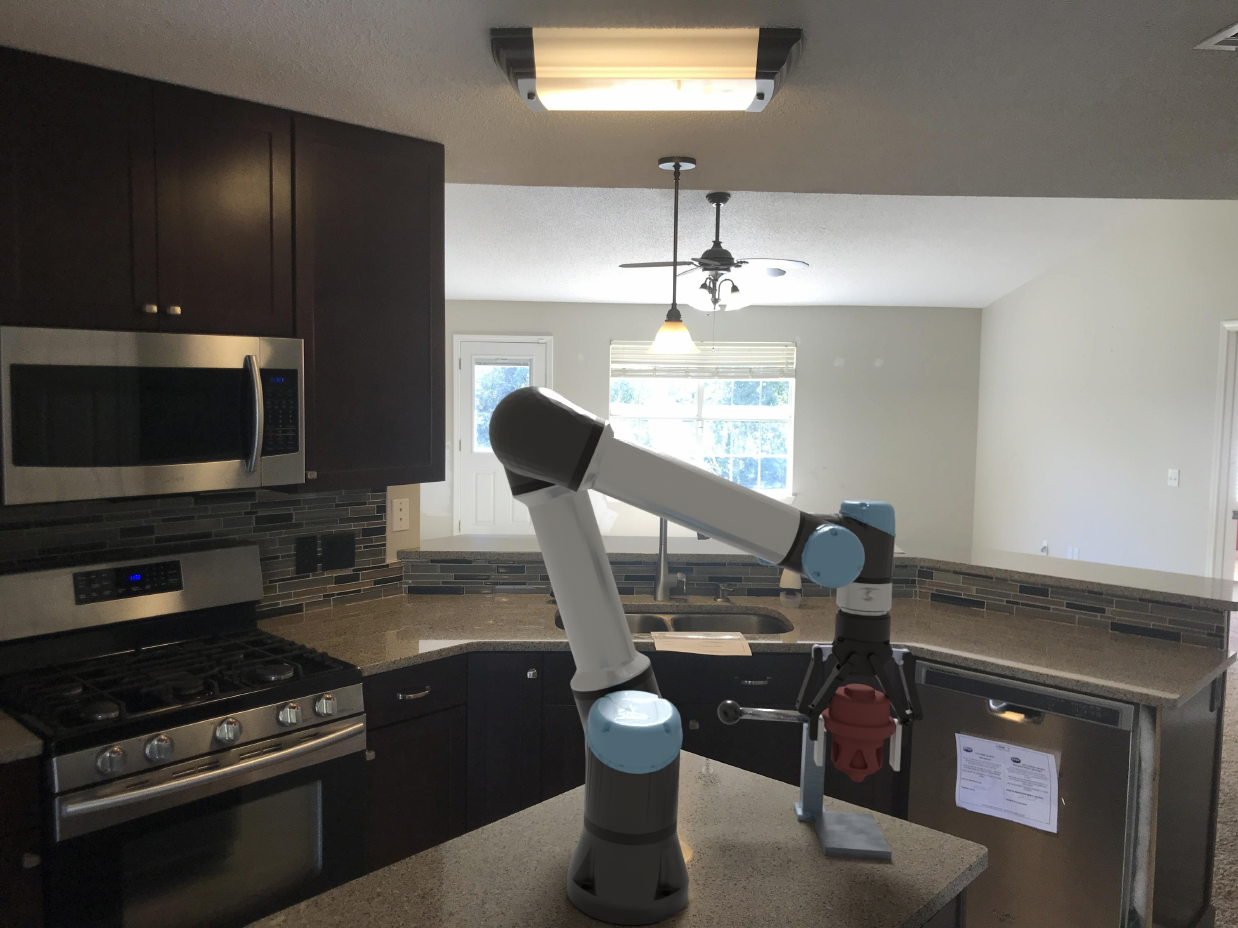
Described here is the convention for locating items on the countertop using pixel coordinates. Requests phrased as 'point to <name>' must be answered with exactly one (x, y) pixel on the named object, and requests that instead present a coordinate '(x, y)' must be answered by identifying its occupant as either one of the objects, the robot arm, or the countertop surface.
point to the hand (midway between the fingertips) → (856, 764)
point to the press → (835, 814)
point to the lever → (756, 713)
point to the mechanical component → (858, 729)
